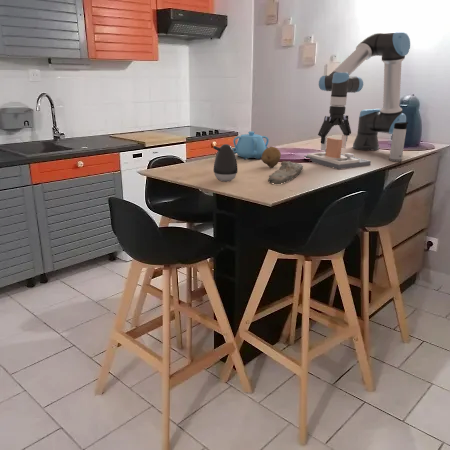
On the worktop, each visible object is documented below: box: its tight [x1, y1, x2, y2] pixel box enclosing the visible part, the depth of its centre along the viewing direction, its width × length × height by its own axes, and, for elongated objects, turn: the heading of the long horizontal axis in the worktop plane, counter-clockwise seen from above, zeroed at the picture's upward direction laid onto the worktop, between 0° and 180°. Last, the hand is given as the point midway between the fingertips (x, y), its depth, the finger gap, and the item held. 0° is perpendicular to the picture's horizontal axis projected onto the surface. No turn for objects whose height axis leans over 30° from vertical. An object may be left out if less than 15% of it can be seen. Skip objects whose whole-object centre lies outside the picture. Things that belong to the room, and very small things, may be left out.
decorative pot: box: [232, 131, 270, 160], centre depth 230 cm, size 16×16×14 cm
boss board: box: [303, 151, 372, 170], centre depth 223 cm, size 22×25×5 cm
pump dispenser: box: [213, 143, 238, 182], centre depth 183 cm, size 10×10×15 cm
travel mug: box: [388, 121, 409, 162], centre depth 228 cm, size 6×7×20 cm
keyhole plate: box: [306, 137, 360, 165], centre depth 220 cm, size 14×23×10 cm, turn 31°
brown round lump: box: [261, 146, 282, 168], centre depth 208 cm, size 9×9×10 cm
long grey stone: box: [267, 160, 304, 184], centre depth 194 cm, size 35×5×10 cm
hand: (333, 149), depth 220 cm, fingers open, 13 cm apart
